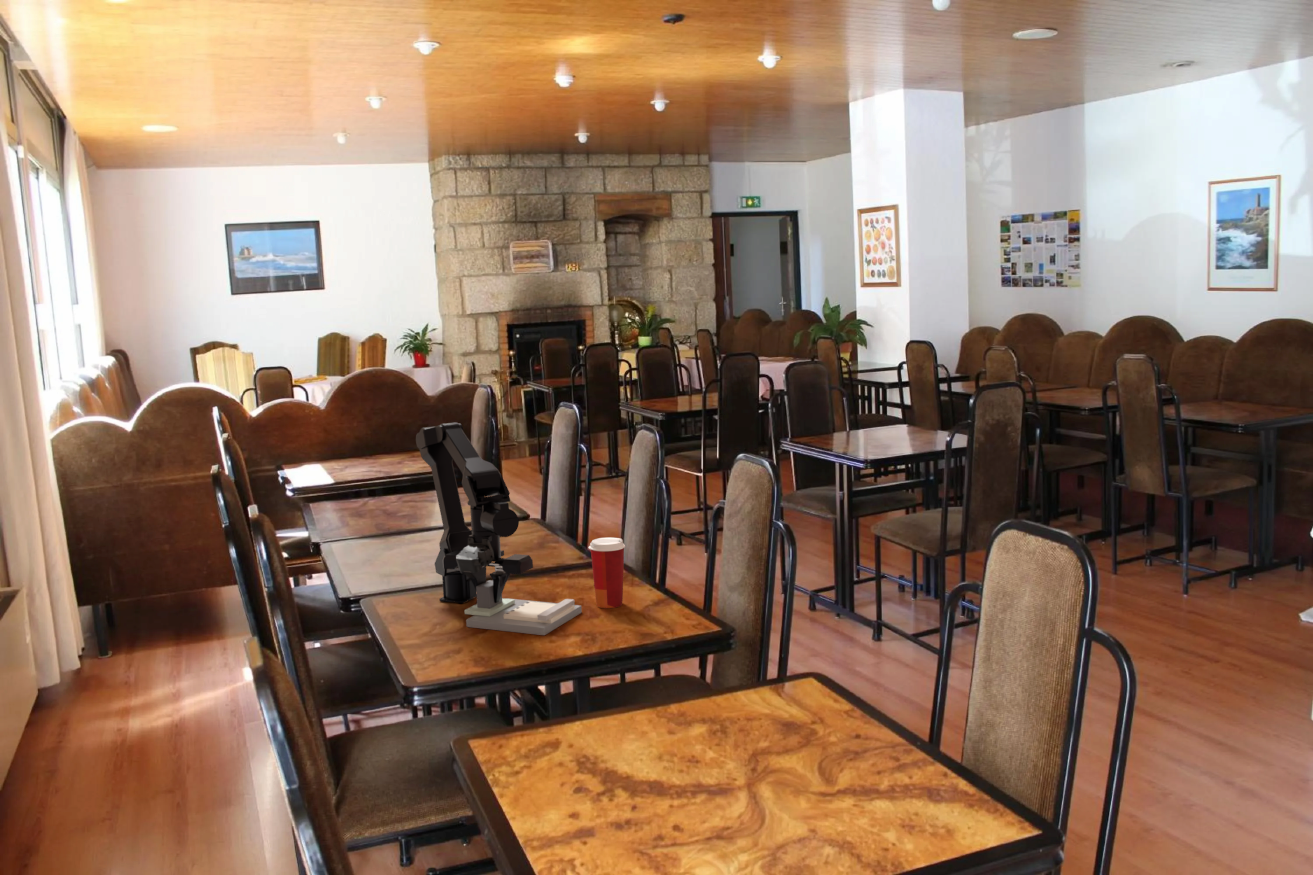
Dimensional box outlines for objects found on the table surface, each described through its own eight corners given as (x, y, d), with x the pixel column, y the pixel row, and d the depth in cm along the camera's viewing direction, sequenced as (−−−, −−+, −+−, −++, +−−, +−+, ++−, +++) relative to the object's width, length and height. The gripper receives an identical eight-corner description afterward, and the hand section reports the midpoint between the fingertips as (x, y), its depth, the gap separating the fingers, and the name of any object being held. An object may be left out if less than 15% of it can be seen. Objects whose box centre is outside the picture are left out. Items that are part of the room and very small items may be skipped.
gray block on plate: (464, 613, 228) (463, 588, 228) (490, 600, 237) (489, 576, 237) (489, 616, 226) (488, 591, 225) (514, 603, 235) (513, 578, 234)
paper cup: (629, 599, 241) (627, 536, 239) (624, 609, 233) (622, 544, 231) (593, 599, 242) (591, 536, 240) (588, 609, 234) (585, 545, 232)
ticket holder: (466, 626, 225) (465, 610, 224) (507, 605, 239) (506, 590, 239) (544, 635, 218) (543, 618, 217) (581, 612, 232) (581, 597, 232)
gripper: (425, 534, 226) (429, 609, 228) (504, 540, 218) (508, 616, 221) (455, 523, 236) (459, 594, 238) (532, 528, 229) (536, 601, 231)
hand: (489, 601), depth 232 cm, fingers closed on gray block on plate, 3 cm apart
